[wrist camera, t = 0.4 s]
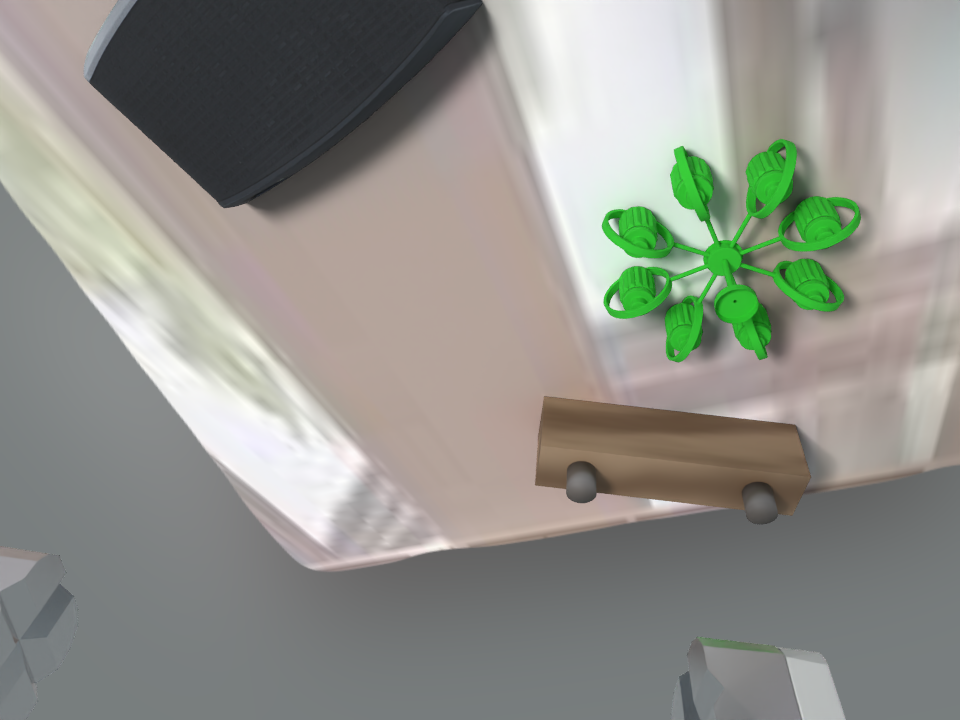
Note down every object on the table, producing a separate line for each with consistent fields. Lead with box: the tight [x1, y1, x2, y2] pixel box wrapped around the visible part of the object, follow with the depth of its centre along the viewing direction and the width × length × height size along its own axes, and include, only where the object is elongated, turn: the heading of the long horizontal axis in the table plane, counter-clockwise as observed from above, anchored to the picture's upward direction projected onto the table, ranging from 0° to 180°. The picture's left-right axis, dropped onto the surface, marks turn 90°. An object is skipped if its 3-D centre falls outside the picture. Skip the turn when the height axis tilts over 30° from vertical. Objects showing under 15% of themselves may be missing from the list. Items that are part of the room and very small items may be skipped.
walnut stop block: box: [535, 397, 811, 524], centre depth 54 cm, size 4×18×7 cm, turn 87°
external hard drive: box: [84, 0, 482, 208], centre depth 40 cm, size 13×19×4 cm
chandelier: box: [602, 139, 861, 362], centre depth 44 cm, size 15×15×7 cm
